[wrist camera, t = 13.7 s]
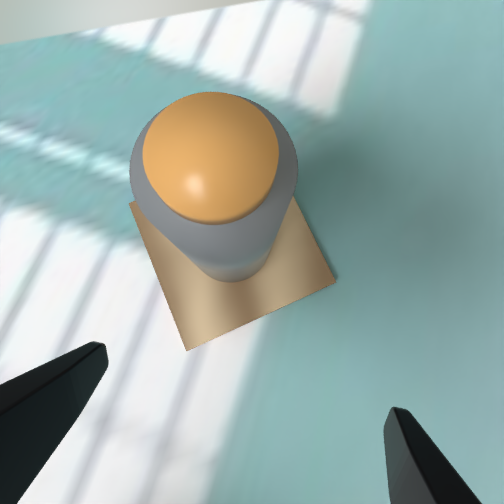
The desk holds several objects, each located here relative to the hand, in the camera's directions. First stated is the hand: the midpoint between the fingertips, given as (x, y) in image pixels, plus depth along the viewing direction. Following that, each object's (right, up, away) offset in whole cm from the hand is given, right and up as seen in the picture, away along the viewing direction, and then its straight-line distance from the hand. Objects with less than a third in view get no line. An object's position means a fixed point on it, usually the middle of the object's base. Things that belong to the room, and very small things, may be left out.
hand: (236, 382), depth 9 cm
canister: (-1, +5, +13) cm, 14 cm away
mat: (-1, +5, +14) cm, 15 cm away
